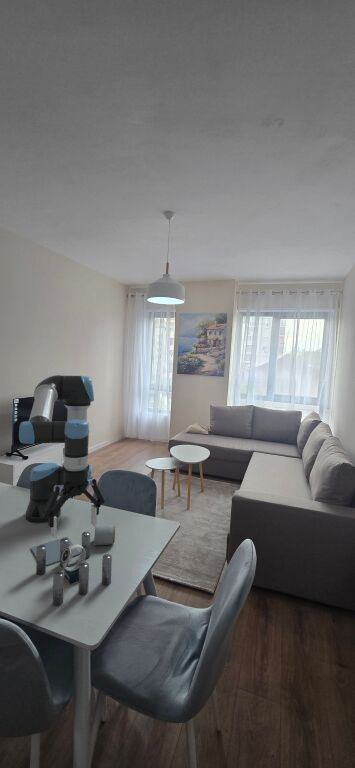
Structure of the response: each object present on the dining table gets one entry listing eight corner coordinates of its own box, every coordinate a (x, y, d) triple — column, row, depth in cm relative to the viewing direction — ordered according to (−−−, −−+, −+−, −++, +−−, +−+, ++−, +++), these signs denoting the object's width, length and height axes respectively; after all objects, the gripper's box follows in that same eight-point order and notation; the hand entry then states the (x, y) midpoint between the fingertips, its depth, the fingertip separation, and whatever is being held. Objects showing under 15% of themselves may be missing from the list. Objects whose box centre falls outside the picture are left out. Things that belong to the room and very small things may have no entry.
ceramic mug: (115, 547, 132) (115, 528, 131) (93, 549, 130) (94, 530, 130) (114, 534, 142) (115, 516, 142) (94, 535, 141) (95, 517, 140)
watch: (58, 577, 113) (59, 546, 112) (81, 569, 118) (82, 539, 117) (64, 587, 109) (64, 554, 108) (87, 577, 114) (88, 546, 113)
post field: (35, 571, 115) (35, 546, 115) (87, 553, 127) (88, 531, 126) (54, 607, 100) (55, 579, 99) (112, 583, 112) (113, 557, 111)
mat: (30, 548, 129) (30, 547, 129) (66, 537, 137) (66, 536, 137) (41, 567, 118) (41, 566, 118) (80, 554, 126) (80, 553, 126)
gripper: (39, 478, 99) (38, 546, 101) (115, 464, 115) (113, 524, 117) (32, 470, 105) (31, 535, 107) (105, 458, 121) (103, 516, 122)
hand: (74, 530), depth 112 cm, fingers open, 13 cm apart
